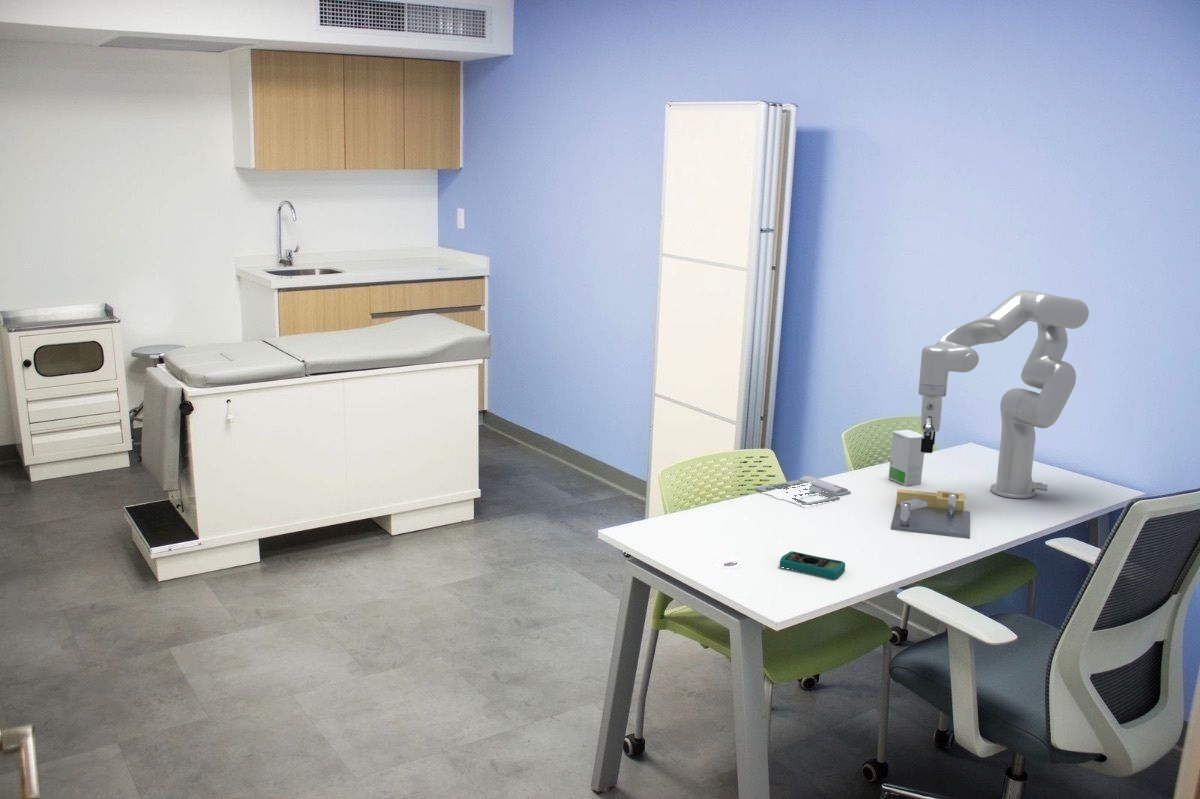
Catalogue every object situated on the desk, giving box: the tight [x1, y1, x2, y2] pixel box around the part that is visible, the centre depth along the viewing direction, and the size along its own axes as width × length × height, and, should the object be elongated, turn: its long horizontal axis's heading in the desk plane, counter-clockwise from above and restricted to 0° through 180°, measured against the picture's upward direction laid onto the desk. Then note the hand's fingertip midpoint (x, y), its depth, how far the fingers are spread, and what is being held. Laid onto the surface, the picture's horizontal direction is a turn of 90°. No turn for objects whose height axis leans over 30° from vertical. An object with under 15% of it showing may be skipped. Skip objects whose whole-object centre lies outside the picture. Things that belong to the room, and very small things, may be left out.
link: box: [895, 488, 965, 511], centre depth 300 cm, size 18×7×4 cm, turn 71°
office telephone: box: [754, 475, 852, 505], centre depth 311 cm, size 23×3×20 cm
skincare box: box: [887, 429, 925, 487], centre depth 321 cm, size 8×7×16 cm
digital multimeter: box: [779, 551, 846, 580], centre depth 253 cm, size 7×15×3 cm, turn 58°
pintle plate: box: [890, 494, 971, 539], centre depth 286 cm, size 20×20×7 cm
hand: (927, 448), depth 298 cm, fingers open, 9 cm apart
